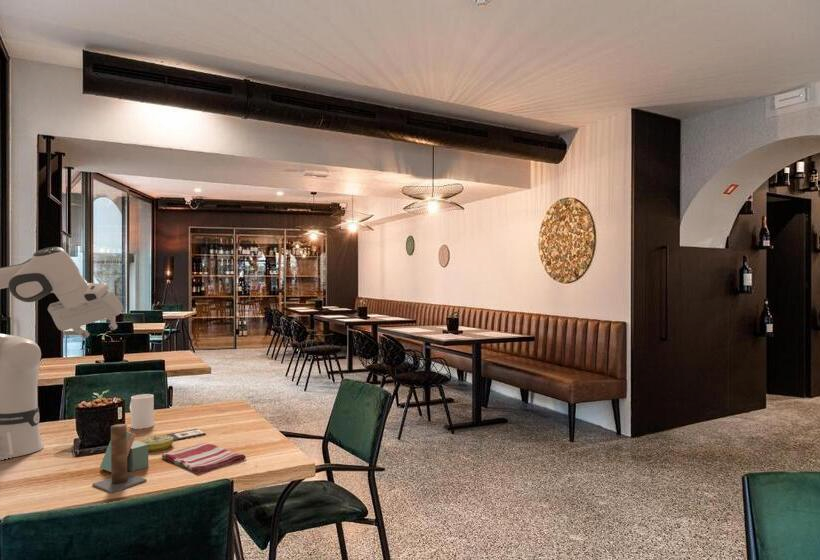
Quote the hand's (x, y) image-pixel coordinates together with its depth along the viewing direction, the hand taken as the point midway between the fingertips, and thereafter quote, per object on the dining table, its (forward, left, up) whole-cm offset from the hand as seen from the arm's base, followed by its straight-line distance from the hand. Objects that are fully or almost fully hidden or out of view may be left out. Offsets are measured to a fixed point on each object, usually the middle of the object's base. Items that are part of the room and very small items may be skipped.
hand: (100, 332), depth 168 cm
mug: (-3, +46, -42) cm, 62 cm away
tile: (+5, -7, -42) cm, 42 cm away
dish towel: (+30, 0, -43) cm, 52 cm away
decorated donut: (+12, +15, -42) cm, 47 cm away
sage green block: (+9, -3, -42) cm, 43 cm away
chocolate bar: (+16, +27, -43) cm, 53 cm away
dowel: (+11, -18, -41) cm, 46 cm away
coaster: (+11, -18, -42) cm, 47 cm away
